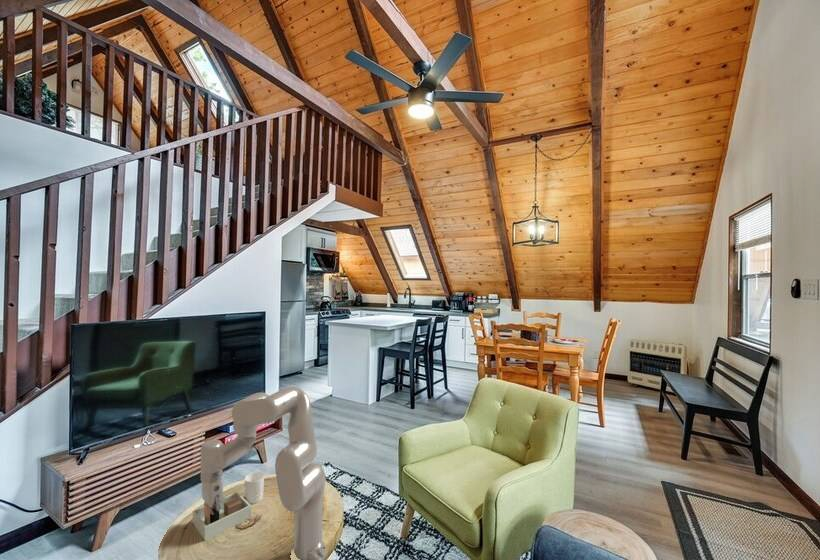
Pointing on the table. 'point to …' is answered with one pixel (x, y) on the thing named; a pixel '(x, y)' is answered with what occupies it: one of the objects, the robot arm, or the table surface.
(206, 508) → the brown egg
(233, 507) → the cube
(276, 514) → the table surface
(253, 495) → the white cup
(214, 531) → the tote
